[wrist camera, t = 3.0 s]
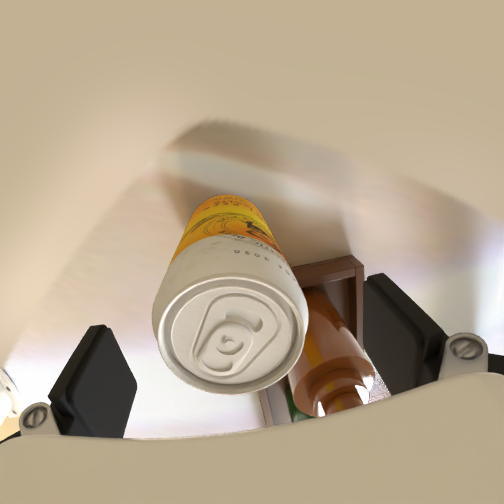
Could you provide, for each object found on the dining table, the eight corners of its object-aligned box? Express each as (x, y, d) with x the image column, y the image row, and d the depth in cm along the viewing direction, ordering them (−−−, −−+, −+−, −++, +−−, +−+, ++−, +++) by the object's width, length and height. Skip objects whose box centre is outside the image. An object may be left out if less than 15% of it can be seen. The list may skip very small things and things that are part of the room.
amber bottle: (275, 343, 28) (308, 470, 15) (266, 292, 26) (303, 420, 13) (332, 330, 28) (392, 444, 15) (328, 279, 26) (407, 388, 13)
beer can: (278, 215, 25) (348, 309, 10) (241, 278, 26) (261, 416, 12) (210, 179, 23) (188, 230, 9) (176, 246, 25) (125, 367, 11)
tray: (277, 461, 36) (279, 475, 34) (233, 278, 26) (234, 292, 24) (349, 444, 36) (354, 457, 34) (352, 254, 26) (364, 265, 24)
